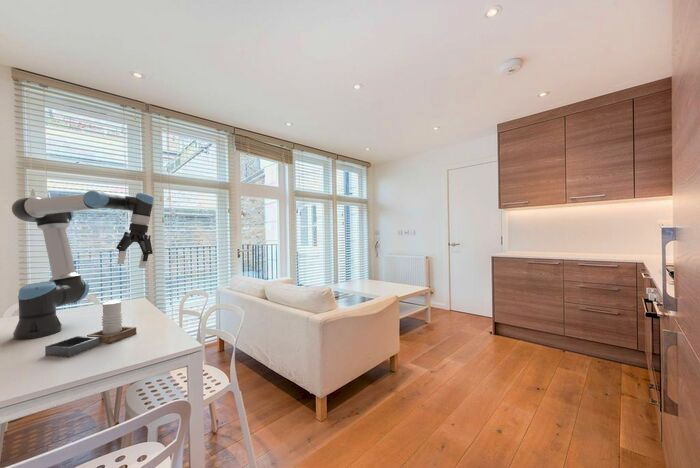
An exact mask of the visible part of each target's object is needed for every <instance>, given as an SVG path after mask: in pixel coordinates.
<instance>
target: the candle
mask: <svg viewBox="0 0 700 468" xmlns="http://www.w3.org/2000/svg"><path fill="white" fill-rule="evenodd" d="M122 302H123V301H122V300H110V301H106V302H103V303H101V305H102V316H101V318H102V319H101V326H102V330H103V334H105V336H112V335H114V334H117V333H120V331H122V327H123V325H122V323H123V312H122Z"/></svg>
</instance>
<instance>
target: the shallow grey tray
mask: <svg viewBox="0 0 700 468" xmlns="http://www.w3.org/2000/svg"><path fill="white" fill-rule="evenodd" d="M99 346H100V343H99V338H98V337H87V336H82V335H81V336H80V335H77V336H74V337H70V338H67V339H64V340H61V341H58V342H55V343H52V344H49V345H46V346H44V350H45V351H44V355H45V357H57V358H66V359H67V358H68V359H69V358H71V357H74V356H76V355H79V354H82V353H85V352H87V351H90V350H93V349H95V348H97V347H99Z"/></svg>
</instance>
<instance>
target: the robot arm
mask: <svg viewBox="0 0 700 468" xmlns="http://www.w3.org/2000/svg"><path fill="white" fill-rule="evenodd" d="M154 199H155V198H154V196H153V195H151V194H148V193H144V192H137V193H136V195H135V196H134V195H127V194H125V195H124V194H122V193H121V194H120V193H112V192H105V191H100V190H88V191H87V192H85V193H77V194H70V195H61V196H51V197H44V198H43V197H42V198H41V197H37V196H35V197H34V196H31V197H23V198H19V199H17V200H16V201H14V202H13V204H11V205H12V206H11V212H12V215H14V217H16V218H17V219H19V220H21V221H23V222H28V223H36V226H37V228H38V229H40V230H42V233H43V238H44V243H45V248H46V253H47V257H48V261H49V266H50V272H51V277H50V278H49V280H47V281H40V282H34V283H30V284H29V283H28V284H26V285H23V286H22V287H20V288H19V290H18V296H17V299H18V322H17V324H16V327H15V329H14V331H13V335H12V336H13V339H14V340H18V341H19V340H30V339H31V340H32V339H36V338H42V337H46V336H50V335H53V334H56V333H59V332H61V331H62V323H61V321H60V319H59V317H58V315H57V308H58V307H61V306H65V305H69V304H75V303H77V302H80V301H83V300H84V299H85V298H86V297H87V296H88V294H89V290H90V285H89V283H88V281H86V279H83V278H82V276H81V274H80V273H77V271H76V267H75V262H74V257H73V252H72V248H71V244H70V243H71V242H70V239H69V234H68V227H69V226H70V222H71V221H72V220H73V218H74V216H75V212H78V211H80V212H81V211H87V210H88V211H89V210H97V209H110V210H120V211H128V212H129V211H130V212H132V213H131V217H130V218H131V219H130V224H129V228H128V230H129V231H124V234H123V236H122V238H121V239H120V241H119V242H118V244H117V245H116V246H115V247H116V248H115V249H117V250H118V256H117V257H118V258H117V265H124V264H125V260H126V255H127V249H128V248H129V247H130V246H131V245H132V244H133V243H137V244H138V245H139V249H140V250H141V255H140V260H139V264H138V268H140V269H145V268H146V266H147V261H148V259H149V256H150V255H153V254H154V253H153V247H152V243H151V241H152V240H151V236H152V235H150V234H146V233H148V231H149V225H150V220H151V213H152V210H153V207H154Z"/></svg>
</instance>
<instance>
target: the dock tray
mask: <svg viewBox="0 0 700 468" xmlns="http://www.w3.org/2000/svg"><path fill="white" fill-rule="evenodd" d="M134 335H137V327H136V326H122V331H120V333H117V334H114V335H112V336H105V334H103V329H101V330H99V331H96V332H93V333H89V334H86V337H98V338H99V344H104V345H105V344H107V345H112V344H115V343H116V342H119V341H121V340H124V339H127V338H130V337H132V336H134Z"/></svg>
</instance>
